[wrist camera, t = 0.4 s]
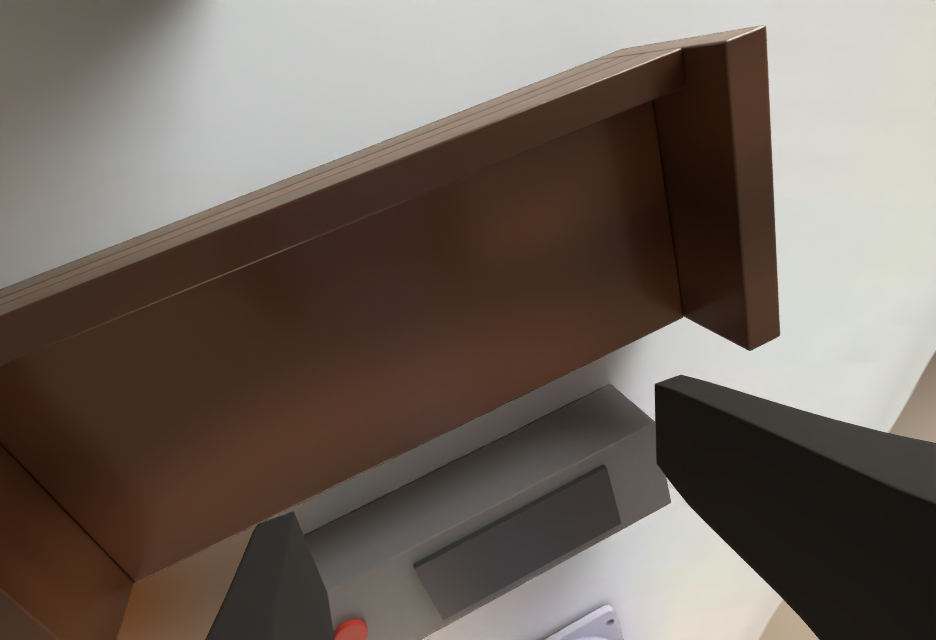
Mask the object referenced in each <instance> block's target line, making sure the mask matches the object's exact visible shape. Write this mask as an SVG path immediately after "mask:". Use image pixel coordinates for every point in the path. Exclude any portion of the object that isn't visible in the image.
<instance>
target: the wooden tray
mask: <svg viewBox="0 0 936 640" xmlns="http://www.w3.org/2000/svg"><path fill="white" fill-rule="evenodd" d="M683 316H684V317H686V318H688V319H690V320H691V321H693V322H695V323H697V324H699V325H701V326H703V327H705V328H707V329H709V330H711V331H712V332H714V333H716V334H718V335H720V336H722V337H724V338H726V339H728V340H730V341H731V342H733V343H735V344H737V345H739V346H741V347H743V348H745V349H747V350H749V351H751V350H753V349H755V348H757V347H759V346H761V345H763V344H765V343H767V342H769V341H771V340H773V339H775V338H777V337H779V336H780V323H779V301H778V279H777V257H776V235H775V213H774V191H773V169H772V147H771V125H770V103H769V81H768V59H767V37H766V26H764V25H761V26H756V27H750V28H744V29H738V30H732V31H726V32H720V33H714V34H708V35H702V36H697V37H691V38H685V39H679V40H673V41H667V42H661V43H655V44H649V45H644V46H638V47H632V48H626V49H621V50H619V51H616V52H614V53H611V54H609V55H606V56H603V57H601V58H598V59H596V60H594V61H591V62H588V63H585V64H583V65H580V66H578V67H575V68H572V69H570V70H567V71H565V72H562V73H560V74H557V75H554V76H552V77H549V78H547V79H544V80H541V81H539V82H536V83H534V84H531V85H528V86H526V87H523V88H521V89H518V90H516V91H513V92H510V93H508V94H505V95H503V96H500V97H497V98H495V99H492V100H490V101H487V102H485V103H482V104H479V105H477V106H474V107H472V108H469V109H466V110H464V111H461V112H459V113H456V114H453V115H451V116H448V117H446V118H443V119H441V120H438V121H435V122H433V123H430V124H428V125H425V126H422V127H420V128H417V129H415V130H412V131H409V132H407V133H404V134H402V135H399V136H397V137H394V138H391V139H389V140H386V141H384V142H381V143H378V144H376V145H373V146H371V147H368V148H365V149H363V150H360V151H358V152H355V153H353V154H350V155H347V156H345V157H342V158H340V159H337V160H334V161H332V162H329V163H327V164H324V165H321V166H319V167H316V168H314V169H311V170H309V171H306V172H303V173H301V174H298V175H296V176H293V177H290V178H288V179H285V180H283V181H280V182H277V183H275V184H272V185H270V186H267V187H265V188H262V189H259V190H257V191H254V192H252V193H249V194H246V195H244V196H241V197H239V198H236V199H234V200H231V201H228V202H226V203H223V204H221V205H218V206H215V207H213V208H210V209H208V210H205V211H202V212H200V213H197V214H195V215H192V216H190V217H187V218H184V219H182V220H179V221H177V222H174V223H171V224H169V225H166V226H164V227H161V228H158V229H156V230H153V231H151V232H148V233H146V234H143V235H140V236H138V237H135V238H133V239H130V240H127V241H125V242H122V243H120V244H117V245H114V246H112V247H109V248H107V249H104V250H102V251H99V252H96V253H94V254H91V255H89V256H86V257H83V258H81V259H78V260H76V261H73V262H70V263H68V264H65V265H63V266H60V267H58V268H55V269H52V270H50V271H47V272H45V273H42V274H39V275H37V276H34V277H32V278H29V279H26V280H24V281H21V282H19V283H16V284H14V285H11V286H8V287H6V288H3V289H1V290H0V640H117V639H118V635H119V632H120V629H121V626H122V623H123V619H124V616H125V613H126V610H127V607H128V603H129V600H130V597H131V594H132V591H133V587H134V584H135V582H136V583H137V582H140V581H142V580H144V579H146V578H148V577H150V576H152V575H154V574H156V573H159V572H160V571H163V570H164V569H167V568H169V567H171V566H173V565H175V564H177V563H179V562H181V561H183V560H185V559H187V558H189V557H191V556H193V555H196V554H198V553H199V552H202V551H204V550H206V549H208V548H210V547H212V546H214V545H216V544H218V543H220V542H222V541H224V540H226V539H229V538H230V537H233V536H235V535H237V534H239V533H241V532H243V531H245V530H247V529H249V528H251V527H253V526H255V525H257V524H259V523H261V522H263V521H266V520H268V519H270V518H272V517H274V516H276V515H278V514H280V513H282V512H284V511H286V510H288V509H290V508H292V507H294V506H296V505H298V504H301V503H303V502H305V501H307V500H309V499H311V498H313V497H315V496H317V495H319V494H321V493H323V492H325V491H327V490H329V489H331V488H333V487H336V486H338V485H340V484H342V483H344V482H346V481H348V480H350V479H352V478H354V477H356V476H358V475H360V474H362V473H364V472H366V471H368V470H370V469H373V468H375V467H377V466H379V465H381V464H383V463H385V462H387V461H389V460H391V459H393V458H395V457H397V456H399V455H401V454H403V453H405V452H408V451H410V450H412V449H414V448H416V447H418V446H420V445H422V444H424V443H426V442H428V441H430V440H432V439H434V438H436V437H438V436H440V435H443V434H445V433H447V432H449V431H451V430H453V429H455V428H457V427H459V426H461V425H463V424H465V423H467V422H469V421H471V420H473V419H475V418H477V417H480V416H482V415H484V414H486V413H488V412H490V411H492V410H494V409H496V408H498V407H500V406H502V405H504V404H506V403H508V402H510V401H512V400H515V399H517V398H519V397H521V396H523V395H525V394H527V393H529V392H531V391H533V390H535V389H537V388H539V387H541V386H543V385H545V384H547V383H550V382H552V381H554V380H556V379H558V378H560V377H562V376H564V375H566V374H568V373H570V372H572V371H574V370H576V369H578V368H580V367H582V366H585V365H587V364H589V363H591V362H593V361H595V360H597V359H599V358H601V357H603V356H605V355H607V354H609V353H611V352H613V351H615V350H617V349H619V348H622V347H624V346H626V345H628V344H630V343H632V342H634V341H636V340H638V339H640V338H642V337H644V336H646V335H648V334H650V333H652V332H654V331H657V330H659V329H661V328H663V327H665V326H667V325H669V324H671V323H673V322H675V321H677V320H679V319H681V318H683Z"/></svg>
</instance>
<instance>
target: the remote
mask: <svg viewBox="0 0 936 640" xmlns="http://www.w3.org/2000/svg"><path fill="white" fill-rule="evenodd" d="M670 503H671V500H670V494H669V489H668V484H667V479H666V476H665V474H664V473H663V472H662V470H661V469H660V468H659V466H658V465H657V464H656V422H655V421H654V420H652V419H651V418H650V417H649V416H648V415H647V414H645V413H644V412H643V411H642V410H641V409H640V408H638V407H637V406H636V405H635V404H634V403H632V402H631V401H630V400H629V399H628V398H627V397H625V396H624V395H623V394H622V393H621V392H620V391H618V390H617V389H616V388H615V387H614V386H612V385H611V384H609V385H607V386H605V387H603V388H601V389H599V390H597V391H595V392H593V393H591V394H589V395H587V396H585V397H583V398H581V399H579V400H577V401H575V402H573V403H571V404H569V405H567V406H565V407H563V408H561V409H559V410H557V411H555V412H553V413H551V414H549V415H547V416H545V417H543V418H541V419H539V420H537V421H535V422H533V423H531V424H529V425H527V426H525V427H523V428H521V429H519V430H517V431H515V432H513V433H511V434H509V435H507V436H505V437H503V438H501V439H499V440H497V441H495V442H493V443H491V444H489V445H487V446H485V447H482V448H480V449H478V450H476V451H474V452H472V453H470V454H468V455H466V456H464V457H462V458H460V459H458V460H456V461H454V462H452V463H450V464H448V465H446V466H444V467H442V468H440V469H438V470H436V471H434V472H432V473H430V474H428V475H426V476H424V477H422V478H420V479H418V480H416V481H414V482H412V483H410V484H408V485H406V486H404V487H402V488H400V489H398V490H396V491H394V492H392V493H390V494H388V495H386V496H384V497H382V498H380V499H378V500H376V501H374V502H372V503H370V504H368V505H366V506H364V507H362V508H360V509H358V510H356V511H354V512H352V513H350V514H348V515H345V516H343V517H341V518H339V519H337V520H335V521H333V522H331V523H329V524H327V525H325V526H323V527H321V528H319V529H317V530H315V531H313V532H311V533H309V534H307V535H305V536H304V537H305V540H306V542H307V545H308V547H309V549H310V552H311V554H312V557H313V559H314V561H315V564H316V566H317V569H318V571H319V573H320V576H321V578H322V581H323V583H324V585H325V588H326V590H327V593H328V599H329V606H330V612H331V619H332V625H333V632H334V640H421V639H423V638H425V637H427V636H428V635H430V634H432V633H434V632H436V631H438V630H439V629H441V628H443V627H445V626H447V625H448V624H450V623H452V622H454V621H456V620H458V619H459V618H461V617H463V616H465V615H467V614H469V613H470V612H472V611H474V610H476V609H478V608H480V607H481V606H483V605H485V604H487V603H489V602H491V601H492V600H494V599H496V598H498V597H500V596H501V595H503V594H505V593H507V592H509V591H511V590H512V589H514V588H516V587H518V586H520V585H522V584H523V583H525V582H527V581H529V580H531V579H533V578H534V577H536V576H538V575H540V574H542V573H544V572H545V571H547V570H549V569H551V568H553V567H555V566H556V565H558V564H560V563H562V562H564V561H565V560H567V559H569V558H571V557H573V556H575V555H576V554H578V553H580V552H582V551H584V550H586V549H587V548H589V547H591V546H593V545H595V544H597V543H598V542H600V541H602V540H604V539H606V538H608V537H609V536H611V535H613V534H615V533H617V532H619V531H620V530H622V529H624V528H626V527H628V526H629V525H631V524H633V523H635V522H637V521H639V520H640V519H642V518H644V517H646V516H648V515H650V514H651V513H653V512H655V511H657V510H659V509H661V508H662V507H664V506H666V505H668V504H670Z"/></svg>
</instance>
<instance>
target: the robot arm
mask: <svg viewBox="0 0 936 640" xmlns="http://www.w3.org/2000/svg"><path fill="white" fill-rule="evenodd" d="M655 422H656V464H657V465H658V466H659V468H660V469H661V470H662V472H663V473H664V474H665V476H666V477H667V478H668V480H669V481H670V482H671V483H672V485H673V486H674V487H675V489H676V490H677V491H678V492H679V494H680V495H681V496H682V497H683V498H684V500H685V501H686V502H687V503H688V505H689V506H690V507H691V508H692V509H693V510H694V511H695V512H696V513H697V514H698V515H699V516H700V517H701V518H702V519H703V520H704V521H705V522H706V523H707V524H708V525H709V526H710V527H711V528H712V529H713V530H714V531H715V532H716V533H717V534H718V535H719V536H720V537H721V538H722V539H723V540H724V541H725V542H726V543H727V544H728V545H729V546H730V547H731V548H732V549H733V550H734V551H735V552H736V553H737V554H738V555H739V556H740V557H741V558H742V559H743V560H744V561H745V562H746V563H747V564H748V565H749V566H750V567H751V568H752V569H753V570H754V571H755V572H756V573H757V574H758V575H759V576H760V577H761V578H763V579H764V580H765V581H766V582H767V583H768V584H769V585H770V586H771V587H772V588H773V589H774V590H775V591H776V592H777V593H778V594H779V595H780V596H781V597H782V598H783V599H784V600H785V601H786V603H787V604H788V605H789V606H790V607H791V608H792V609H793V610H794V611H795V612H796V613H797V614H798V615H799V616H800V617H801V618H802V620H803V621H804V622H805V623H806V624H807V625H808V627H809V628H810V629H811V630H812V631H813V632H814V633H815V635H816V636H817V637H818V638H819V639H820V640H936V443H932V442H928V441H923V440H918V439H913V438H908V437H903V436H899V435H894V434H890V433H886V432H881V431H877V430H873V429H869V428H865V427H862V426H858V425H854V424H850V423H846V422H842V421H838V420H834V419H831V418H827V417H824V416H820V415H816V414H813V413H809V412H806V411H802V410H799V409H796V408H792V407H789V406H786V405H782V404H779V403H776V402H772V401H769V400H766V399H762V398H759V397H756V396H753V395H749V394H746V393H743V392H740V391H737V390H733V389H730V388H727V387H723V386H720V385H717V384H713V383H710V382H706V381H703V380H699V379H696V378H692V377H688V376H683V375H679V376H676V377H673V378H670V379H667V380H665V381H662V382H659V383H656V384H655ZM205 640H334V632H333V625H332V619H331V612H330V606H329V599H328V593H327V590H326V588H325V585H324V583H323V581H322V578H321V576H320V573H319V571H318V569H317V566H316V564H315V561H314V559H313V557H312V554H311V552H310V549H309V547H308V545H307V542H306V540H305V537H304V535H303V533H302V530H301V528H300V525H299V523H298V521H297V518H296V516H295V513H294V512H291V513H288V514H286V515H283V516H280V517H277V518H274V519H271V520H269V521H266V522H263V523H260V524H258V525H257V526H256V528H255V529H254V531H253V533H252V536H251V538H250V540H249V543H248V545H247V548H246V550H245V552H244V555H243V558H242V560H241V562H240V565H239V567H238V569H237V572H236V574H235V576H234V579H233V581H232V583H231V585H230V588H229V590H228V592H227V594H226V597H225V599H224V601H223V603H222V606H221V608H220V610H219V612H218V614H217V616H216V619H215V620H214V622H213V625H212V627H211V629H210V631H209V633H208V635H207V637H206V639H205ZM544 640H624V639H623V636H622V632H621V629H620V626H619V623H618V619H617V616H616V613H615V611H614V609H613V608H612V607H611V606H610V605H605V606H602V607H600V608H599V609H597V610H595V611H593V612H592V613H590V614H588V615H586V616H585V617H583V618H581V619H579V620H578V621H576V622H574V623H572V624H571V625H569V626H567V627H565V628H563V629H562V630H560V631H558V632H556V633H555V634H553V635H551V636H549V637H548V638H546V639H544Z"/></svg>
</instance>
